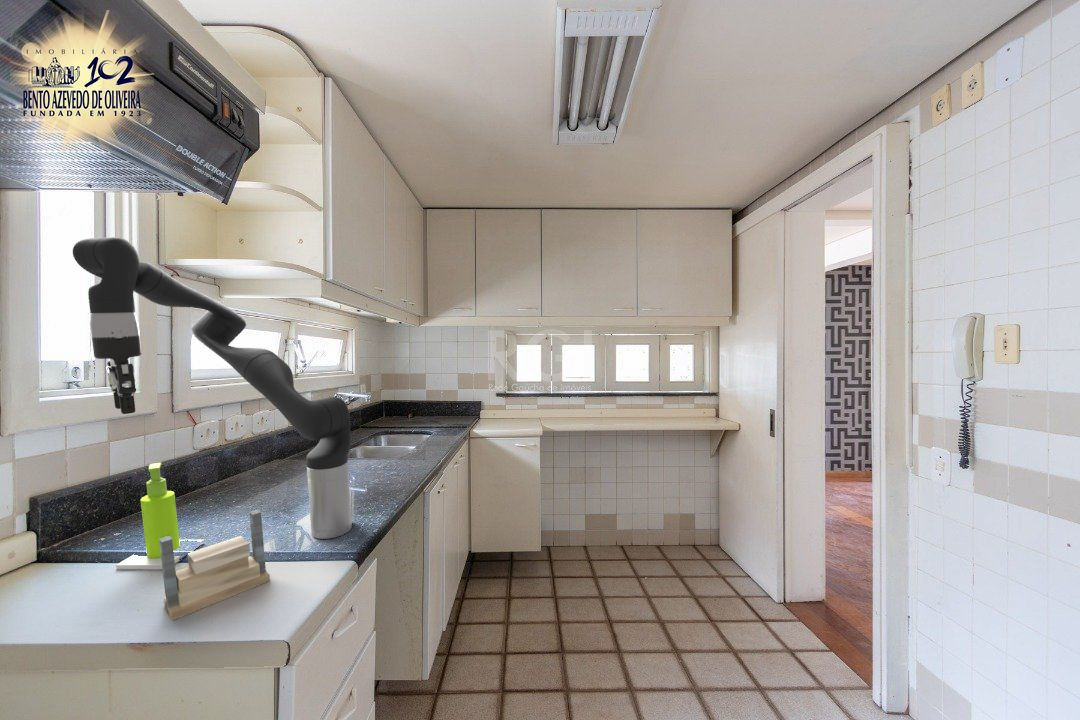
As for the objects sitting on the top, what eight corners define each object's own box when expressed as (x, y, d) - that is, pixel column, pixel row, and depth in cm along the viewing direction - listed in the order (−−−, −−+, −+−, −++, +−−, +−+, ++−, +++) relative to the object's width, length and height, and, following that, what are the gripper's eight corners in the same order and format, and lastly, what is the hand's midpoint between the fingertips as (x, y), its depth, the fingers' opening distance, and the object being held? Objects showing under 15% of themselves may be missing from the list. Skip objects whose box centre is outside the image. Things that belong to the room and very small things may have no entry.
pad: (159, 543, 112) (158, 539, 112) (204, 543, 111) (204, 539, 111) (116, 569, 101) (116, 564, 101) (166, 569, 100) (166, 565, 100)
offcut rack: (164, 606, 88) (156, 535, 86) (259, 570, 100) (254, 506, 98) (172, 620, 84) (164, 545, 82) (269, 580, 96) (264, 514, 94)
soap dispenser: (181, 540, 111) (172, 458, 109) (179, 553, 105) (170, 466, 103) (149, 548, 108) (139, 463, 105) (145, 561, 102) (135, 472, 100)
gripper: (87, 335, 101) (97, 409, 103) (95, 336, 91) (106, 418, 93) (133, 333, 106) (141, 404, 108) (145, 334, 97) (154, 411, 99)
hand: (125, 410), depth 101 cm, fingers open, 8 cm apart
